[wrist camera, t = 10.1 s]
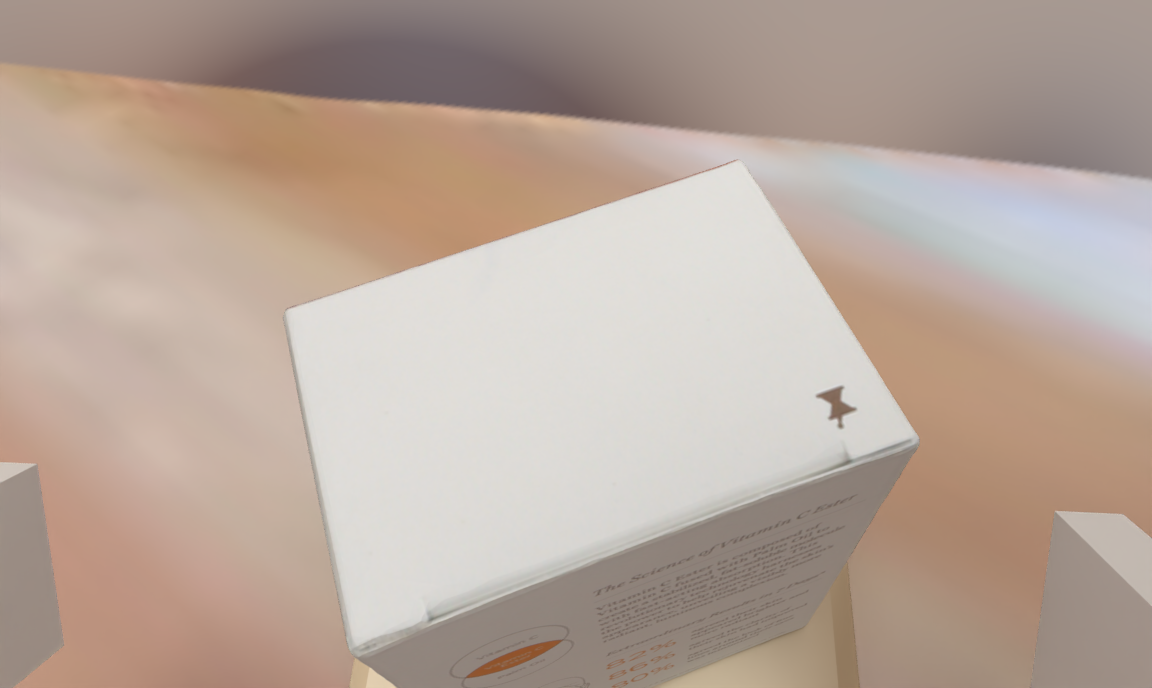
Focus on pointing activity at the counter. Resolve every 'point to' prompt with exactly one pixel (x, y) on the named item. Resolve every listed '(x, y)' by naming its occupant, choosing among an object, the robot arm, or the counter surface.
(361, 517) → the small box
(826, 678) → the podium
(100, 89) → the counter surface
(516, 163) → the counter surface
